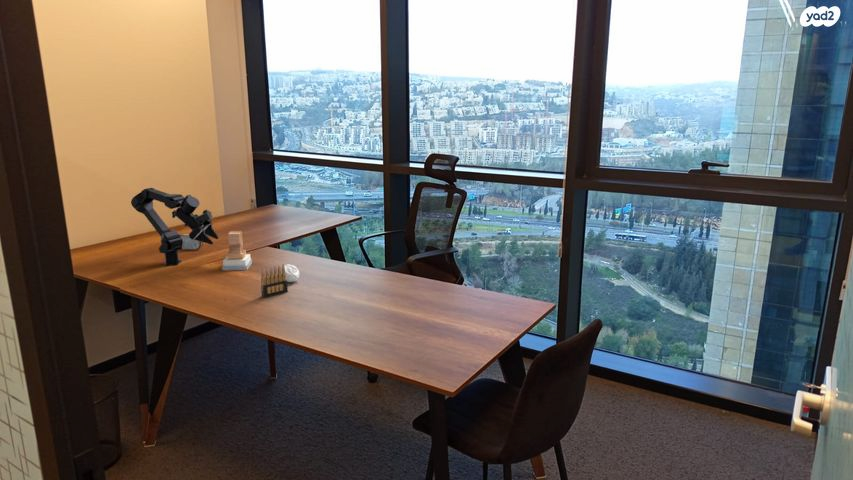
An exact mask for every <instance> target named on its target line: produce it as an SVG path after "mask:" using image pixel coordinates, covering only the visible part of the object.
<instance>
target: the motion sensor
mask: <svg viewBox="0 0 853 480" xmlns="http://www.w3.org/2000/svg"><path fill="white" fill-rule="evenodd" d="M284 267H285V273H286V280H287V283H293V282H296V281H298V279H299V277H300V271H299V269H298V267H296V266H295V265H293V264H285V265H284ZM281 274H282V269H281Z"/></svg>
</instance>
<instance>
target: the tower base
mask: <svg viewBox="0 0 853 480" xmlns="http://www.w3.org/2000/svg"><path fill="white" fill-rule="evenodd" d="M252 263H253V259H252V258H251V259H250V261H249V262H248V263H247V264H246V266H223V265H222V267H221V270H222V271H247V270H248V269H249V268H250V267H251V265H252Z"/></svg>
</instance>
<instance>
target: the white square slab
mask: <svg viewBox="0 0 853 480" xmlns="http://www.w3.org/2000/svg"><path fill="white" fill-rule="evenodd" d="M250 259H252V258H251V253H246V256H245V257H244V259H243V260H227V256H226V257H225V258H224V259H223V260H222V263H223V264H222V266H246V264H247V263H248V262H249V261H250Z"/></svg>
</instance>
